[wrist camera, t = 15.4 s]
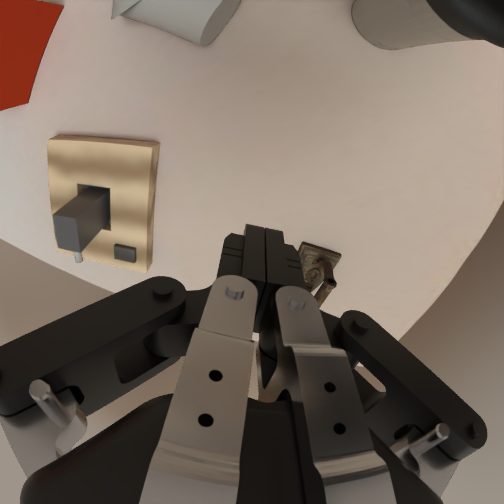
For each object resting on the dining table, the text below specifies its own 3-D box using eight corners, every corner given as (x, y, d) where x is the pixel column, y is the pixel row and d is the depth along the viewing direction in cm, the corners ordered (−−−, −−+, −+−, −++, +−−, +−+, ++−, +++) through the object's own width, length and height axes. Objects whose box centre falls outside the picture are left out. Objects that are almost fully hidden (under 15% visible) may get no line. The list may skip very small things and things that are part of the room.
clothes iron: (342, 247, 44) (355, 298, 37) (311, 286, 51) (318, 333, 45) (304, 237, 42) (313, 291, 36) (277, 280, 50) (280, 329, 43)
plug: (89, 186, 37) (52, 214, 29) (110, 188, 37) (75, 218, 29) (92, 231, 41) (62, 265, 33) (112, 234, 42) (84, 271, 33)
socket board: (58, 135, 33) (44, 140, 30) (159, 143, 35) (150, 149, 32) (65, 242, 44) (55, 253, 41) (152, 262, 45) (145, 276, 42)
